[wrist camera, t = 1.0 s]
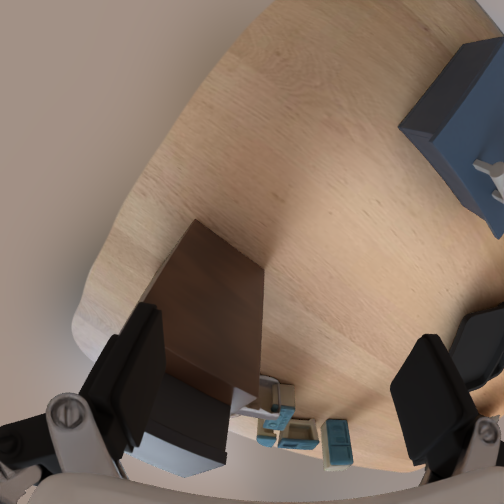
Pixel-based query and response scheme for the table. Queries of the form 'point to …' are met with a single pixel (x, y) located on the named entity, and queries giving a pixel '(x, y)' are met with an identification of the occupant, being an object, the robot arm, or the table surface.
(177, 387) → the dark grey rectangular block
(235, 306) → the stand
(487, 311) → the tray
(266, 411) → the decorative sculpture
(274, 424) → the toy kitchen set
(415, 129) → the storage box
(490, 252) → the table surface
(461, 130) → the box lid
